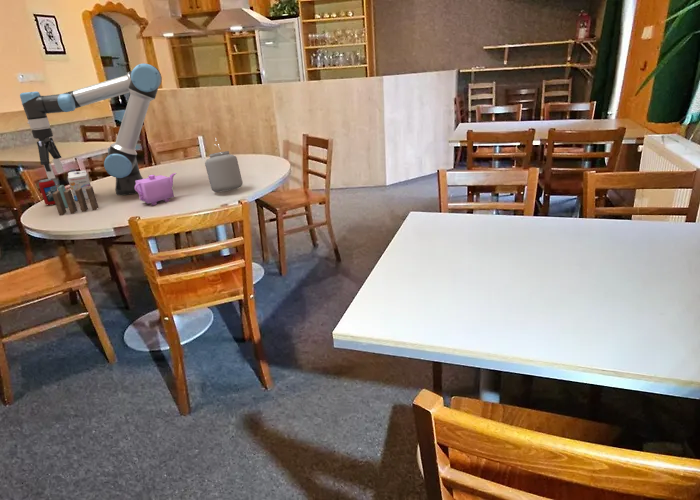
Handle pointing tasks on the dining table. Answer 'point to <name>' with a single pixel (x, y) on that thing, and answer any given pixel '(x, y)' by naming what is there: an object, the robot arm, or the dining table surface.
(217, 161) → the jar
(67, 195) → the domino
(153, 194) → the teapot
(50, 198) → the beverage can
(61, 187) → the domino
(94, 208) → the domino
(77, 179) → the ink box
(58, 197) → the domino
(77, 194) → the domino
